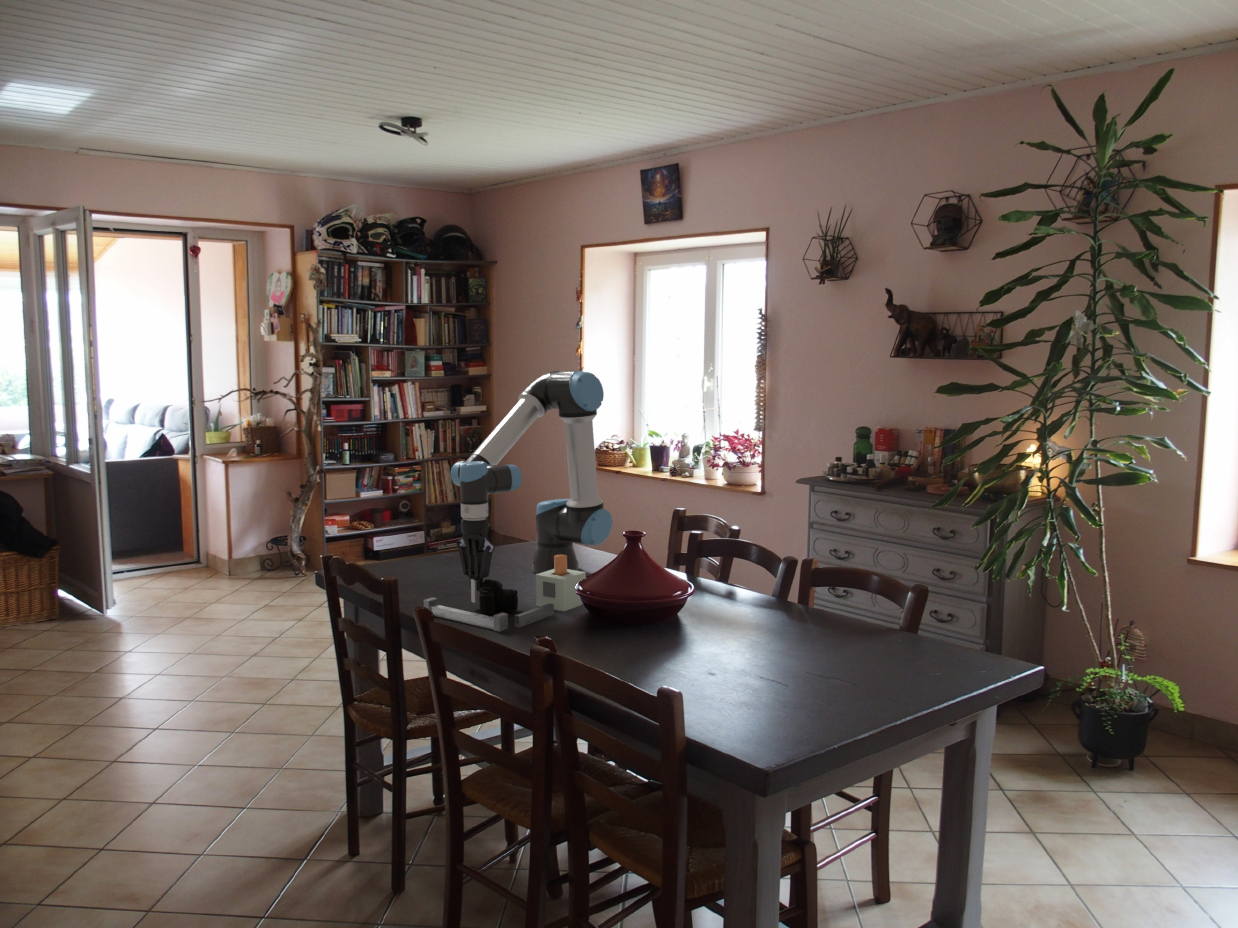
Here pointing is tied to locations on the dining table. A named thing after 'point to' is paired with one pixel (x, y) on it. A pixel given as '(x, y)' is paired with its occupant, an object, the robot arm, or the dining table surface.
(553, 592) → the cabinet
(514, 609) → the film camera
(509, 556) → the dining table surface
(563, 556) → the gauge button
